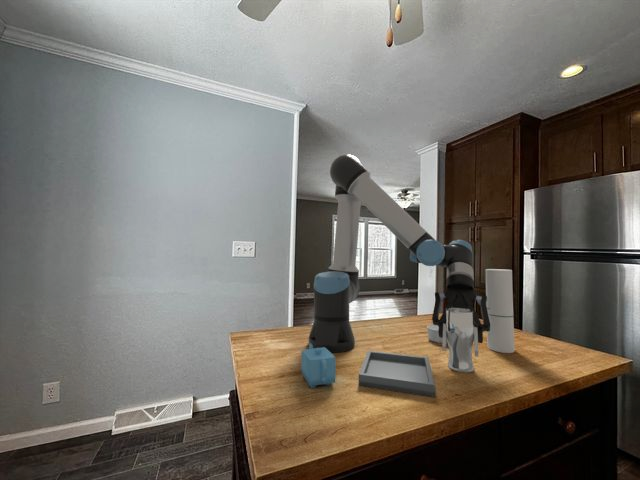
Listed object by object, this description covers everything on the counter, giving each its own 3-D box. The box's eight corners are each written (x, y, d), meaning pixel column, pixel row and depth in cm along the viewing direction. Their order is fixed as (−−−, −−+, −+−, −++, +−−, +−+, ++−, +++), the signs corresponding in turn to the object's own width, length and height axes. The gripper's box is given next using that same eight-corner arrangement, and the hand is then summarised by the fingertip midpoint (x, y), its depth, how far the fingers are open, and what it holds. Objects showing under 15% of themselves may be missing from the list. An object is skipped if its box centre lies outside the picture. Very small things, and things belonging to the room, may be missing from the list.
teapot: (297, 371, 69) (298, 340, 69) (320, 367, 71) (320, 338, 71) (311, 394, 57) (312, 358, 58) (338, 389, 59) (338, 354, 60)
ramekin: (421, 338, 97) (421, 325, 97) (439, 335, 101) (438, 323, 101) (442, 345, 89) (442, 332, 89) (460, 342, 93) (460, 329, 93)
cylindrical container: (505, 345, 89) (503, 269, 90) (519, 353, 82) (517, 270, 83) (483, 344, 90) (481, 269, 91) (494, 352, 83) (492, 270, 84)
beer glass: (472, 364, 73) (471, 308, 74) (478, 375, 67) (477, 313, 68) (444, 361, 76) (443, 306, 76) (447, 371, 69) (446, 311, 70)
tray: (358, 385, 61) (358, 374, 61) (367, 359, 76) (367, 350, 76) (435, 397, 56) (435, 384, 56) (428, 366, 72) (428, 357, 72)
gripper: (496, 290, 81) (505, 365, 66) (427, 286, 90) (420, 351, 75) (498, 273, 77) (507, 350, 61) (425, 271, 86) (417, 337, 71)
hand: (460, 350), depth 68 cm, fingers closed on beer glass, 7 cm apart
